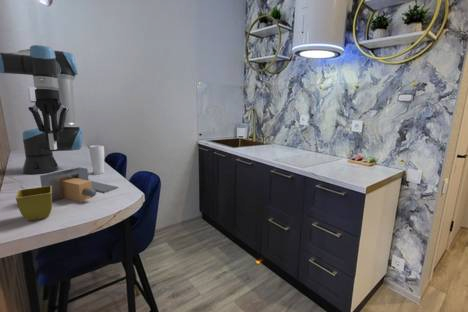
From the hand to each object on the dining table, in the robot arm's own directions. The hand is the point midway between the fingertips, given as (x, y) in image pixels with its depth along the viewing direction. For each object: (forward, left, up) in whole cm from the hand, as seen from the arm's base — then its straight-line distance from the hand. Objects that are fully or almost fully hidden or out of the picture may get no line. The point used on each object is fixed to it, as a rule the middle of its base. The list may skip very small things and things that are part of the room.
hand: (53, 149), depth 98 cm
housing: (+5, +1, -19) cm, 19 cm away
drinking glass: (-13, +29, -19) cm, 37 cm away
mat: (+5, +13, -19) cm, 23 cm away
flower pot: (+17, -16, -19) cm, 30 cm away
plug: (+9, +1, -19) cm, 21 cm away
